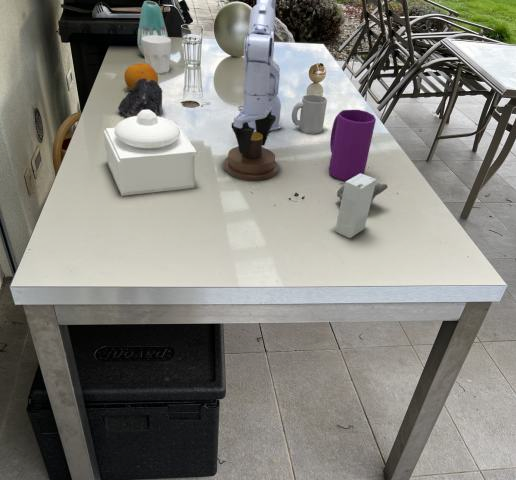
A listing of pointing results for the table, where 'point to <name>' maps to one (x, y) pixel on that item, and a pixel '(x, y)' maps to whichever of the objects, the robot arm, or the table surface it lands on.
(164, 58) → the cup
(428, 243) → the table surface
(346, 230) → the cosmetic box
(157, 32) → the vase
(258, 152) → the coffee pod
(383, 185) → the fossil
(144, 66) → the fruit
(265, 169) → the pod stand
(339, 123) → the mug
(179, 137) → the butter dish
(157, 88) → the crystal cluster
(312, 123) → the cup
